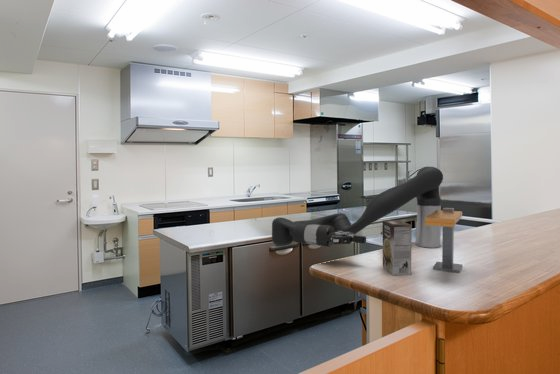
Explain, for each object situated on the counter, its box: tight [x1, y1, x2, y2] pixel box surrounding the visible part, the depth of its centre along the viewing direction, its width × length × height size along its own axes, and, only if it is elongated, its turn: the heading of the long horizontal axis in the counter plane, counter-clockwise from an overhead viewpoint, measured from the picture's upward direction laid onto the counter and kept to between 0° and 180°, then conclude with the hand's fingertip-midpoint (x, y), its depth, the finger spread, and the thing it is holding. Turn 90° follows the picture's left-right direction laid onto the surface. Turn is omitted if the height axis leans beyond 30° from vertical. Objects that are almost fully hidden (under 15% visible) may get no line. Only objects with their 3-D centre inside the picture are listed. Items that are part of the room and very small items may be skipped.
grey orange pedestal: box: [425, 207, 463, 274], centre depth 119 cm, size 8×22×20 cm, turn 148°
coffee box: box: [382, 219, 413, 276], centre depth 123 cm, size 9×6×16 cm
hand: (365, 240), depth 128 cm, fingers closed
